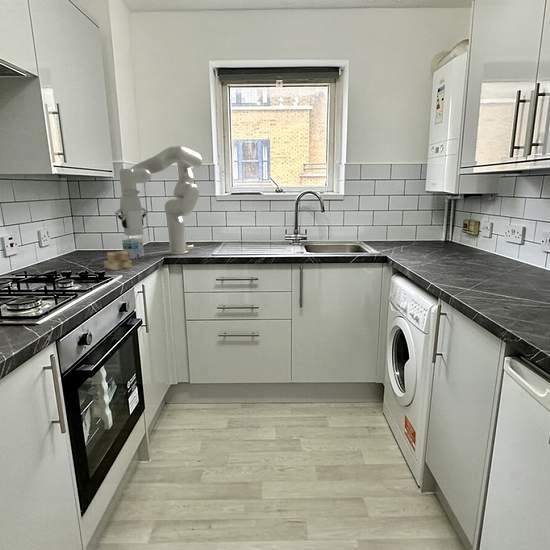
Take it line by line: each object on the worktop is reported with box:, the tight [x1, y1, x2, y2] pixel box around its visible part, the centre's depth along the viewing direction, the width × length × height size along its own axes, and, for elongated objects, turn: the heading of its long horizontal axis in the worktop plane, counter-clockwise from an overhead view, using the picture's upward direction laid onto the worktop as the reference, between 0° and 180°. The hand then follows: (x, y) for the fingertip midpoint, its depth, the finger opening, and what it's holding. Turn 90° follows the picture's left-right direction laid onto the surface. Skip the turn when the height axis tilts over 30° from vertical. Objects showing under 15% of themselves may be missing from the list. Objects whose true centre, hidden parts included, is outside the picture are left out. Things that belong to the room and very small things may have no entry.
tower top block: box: [106, 250, 130, 263], centre depth 193 cm, size 9×9×4 cm
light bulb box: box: [121, 237, 145, 260], centre depth 220 cm, size 11×7×11 cm, turn 168°
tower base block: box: [103, 259, 134, 271], centre depth 194 cm, size 10×10×4 cm
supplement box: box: [121, 211, 144, 237], centre depth 203 cm, size 7×7×13 cm
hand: (133, 227), depth 204 cm, fingers closed on supplement box, 8 cm apart
